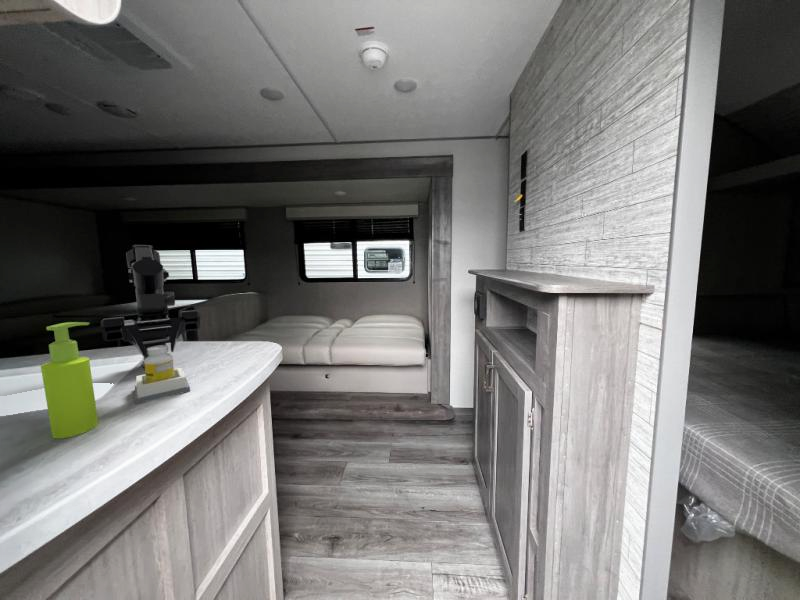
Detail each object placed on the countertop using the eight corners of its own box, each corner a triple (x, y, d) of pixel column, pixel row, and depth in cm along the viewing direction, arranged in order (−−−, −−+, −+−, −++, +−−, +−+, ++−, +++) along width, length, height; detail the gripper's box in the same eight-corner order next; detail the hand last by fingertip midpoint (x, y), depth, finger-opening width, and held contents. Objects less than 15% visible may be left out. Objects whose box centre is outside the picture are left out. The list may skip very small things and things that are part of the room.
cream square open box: (135, 389, 74) (133, 375, 74) (185, 379, 81) (183, 366, 80) (135, 403, 67) (133, 388, 66) (190, 390, 73) (188, 376, 73)
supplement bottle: (144, 387, 73) (140, 347, 72) (171, 380, 77) (168, 343, 76) (150, 393, 69) (145, 351, 68) (178, 385, 74) (174, 346, 73)
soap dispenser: (112, 419, 60) (99, 320, 57) (71, 439, 53) (54, 328, 51) (86, 418, 61) (71, 319, 58) (42, 437, 54) (24, 327, 51)
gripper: (95, 283, 67) (97, 341, 60) (195, 279, 79) (207, 327, 72) (103, 314, 74) (105, 369, 67) (194, 306, 86) (204, 352, 79)
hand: (158, 353), depth 71 cm, fingers open, 5 cm apart
